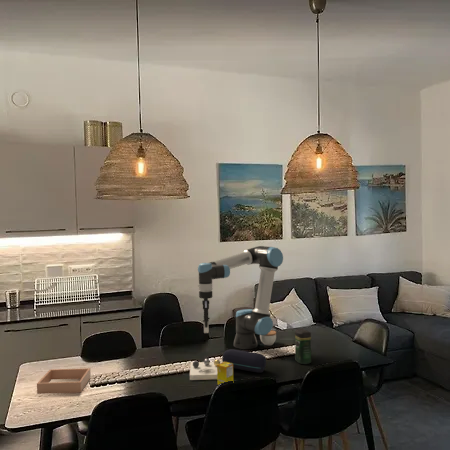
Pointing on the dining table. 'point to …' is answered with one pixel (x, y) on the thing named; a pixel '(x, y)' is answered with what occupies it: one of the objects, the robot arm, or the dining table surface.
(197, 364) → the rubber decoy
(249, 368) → the portable speaker
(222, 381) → the supplement box
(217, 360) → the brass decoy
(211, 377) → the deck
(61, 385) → the brown square tray
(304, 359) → the coffee jar
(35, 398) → the dining table surface
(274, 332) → the lidded jar
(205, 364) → the ball
